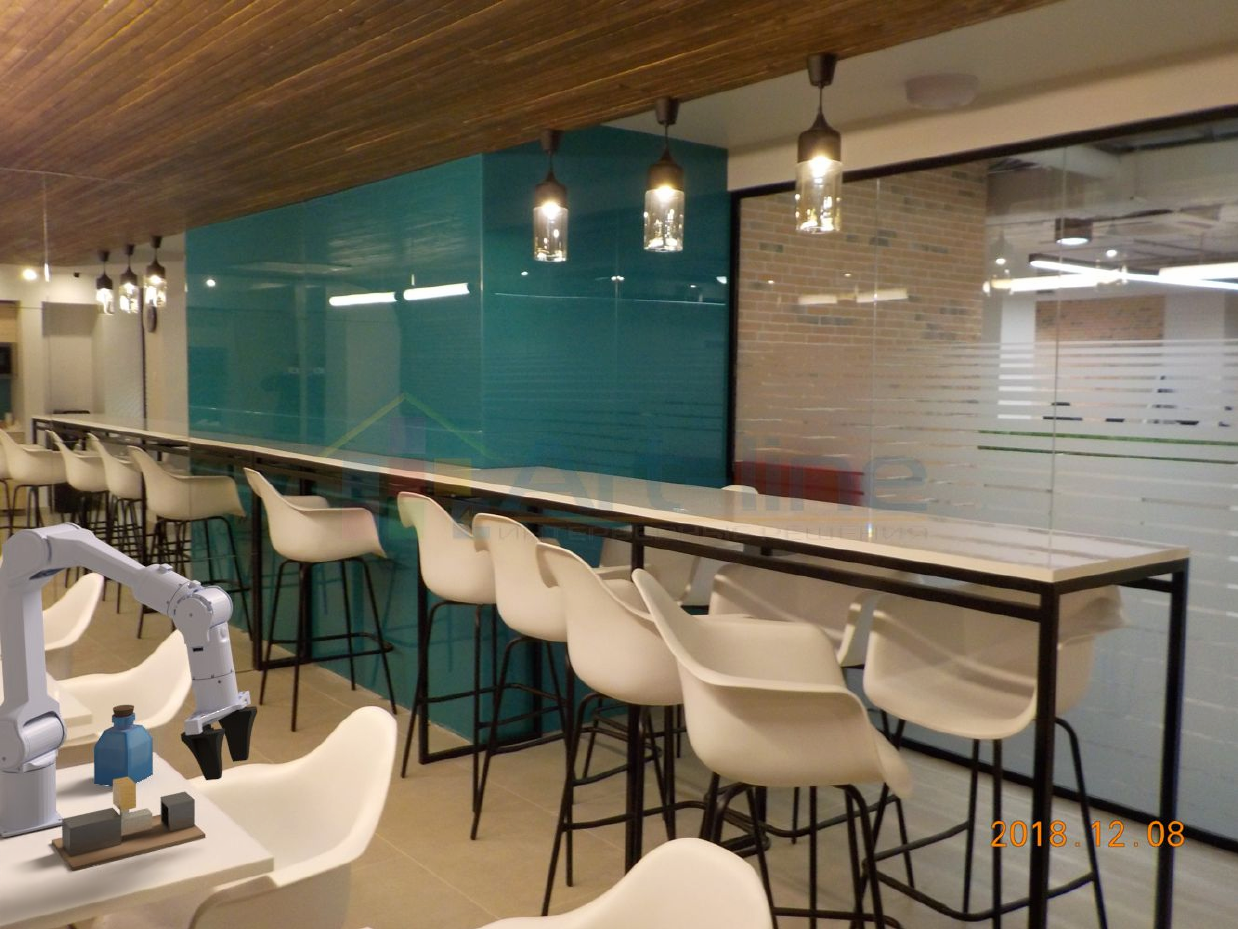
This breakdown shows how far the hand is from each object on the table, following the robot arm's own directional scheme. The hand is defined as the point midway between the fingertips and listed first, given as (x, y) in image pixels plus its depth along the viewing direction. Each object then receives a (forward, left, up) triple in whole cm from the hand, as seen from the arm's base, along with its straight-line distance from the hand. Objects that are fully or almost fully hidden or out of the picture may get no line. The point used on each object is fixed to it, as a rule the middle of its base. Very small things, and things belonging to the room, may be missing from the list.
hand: (227, 769), depth 148 cm
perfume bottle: (-34, -4, -11) cm, 36 cm away
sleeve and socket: (-9, -10, -11) cm, 17 cm away
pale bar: (-9, -13, -9) cm, 18 cm away
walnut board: (-9, -10, -11) cm, 17 cm away
